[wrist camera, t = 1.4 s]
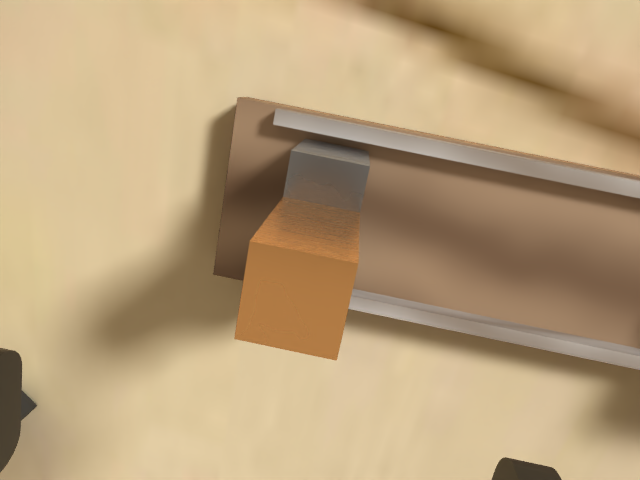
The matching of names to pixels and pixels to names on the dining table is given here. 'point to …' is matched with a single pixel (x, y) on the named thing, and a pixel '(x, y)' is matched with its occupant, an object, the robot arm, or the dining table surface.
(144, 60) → the dining table surface
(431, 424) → the dining table surface
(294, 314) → the sliding jaw
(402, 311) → the base
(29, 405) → the walkie-talkie
